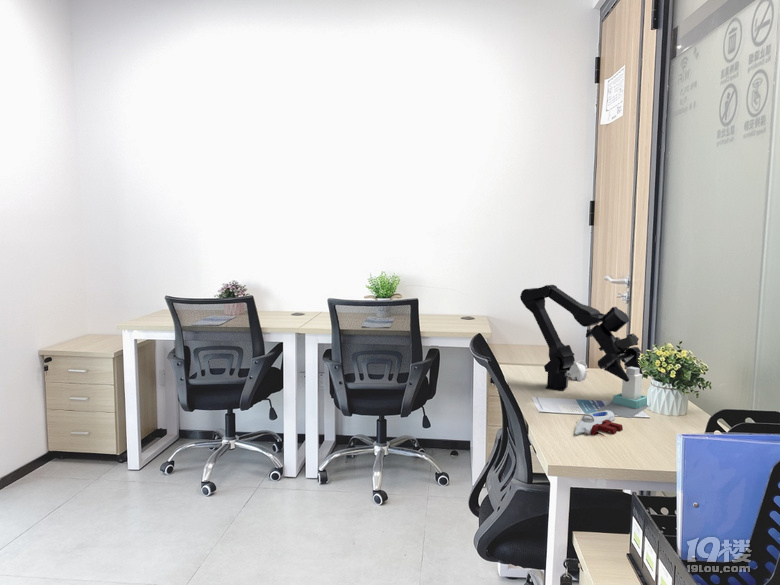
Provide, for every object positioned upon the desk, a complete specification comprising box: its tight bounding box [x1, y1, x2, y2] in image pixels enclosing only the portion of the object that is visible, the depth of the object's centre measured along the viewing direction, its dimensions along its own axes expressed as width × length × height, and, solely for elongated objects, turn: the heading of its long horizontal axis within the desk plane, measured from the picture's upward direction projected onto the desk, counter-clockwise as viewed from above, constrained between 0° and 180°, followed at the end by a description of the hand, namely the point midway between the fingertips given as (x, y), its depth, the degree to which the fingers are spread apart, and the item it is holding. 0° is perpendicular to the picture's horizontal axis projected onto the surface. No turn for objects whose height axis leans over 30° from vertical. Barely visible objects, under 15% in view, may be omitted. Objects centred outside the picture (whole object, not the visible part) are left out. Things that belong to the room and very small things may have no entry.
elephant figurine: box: [567, 359, 589, 382], centre depth 241 cm, size 8×10×7 cm
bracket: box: [590, 419, 623, 436], centre depth 180 cm, size 3×6×10 cm
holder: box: [612, 392, 647, 409], centre depth 206 cm, size 8×8×2 cm
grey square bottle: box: [621, 367, 643, 400], centre depth 205 cm, size 4×4×12 cm
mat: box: [595, 400, 650, 419], centre depth 202 cm, size 21×11×1 cm, turn 139°
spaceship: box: [574, 410, 616, 436], centre depth 186 cm, size 23×7×4 cm, turn 135°
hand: (635, 378), depth 204 cm, fingers open, 9 cm apart
